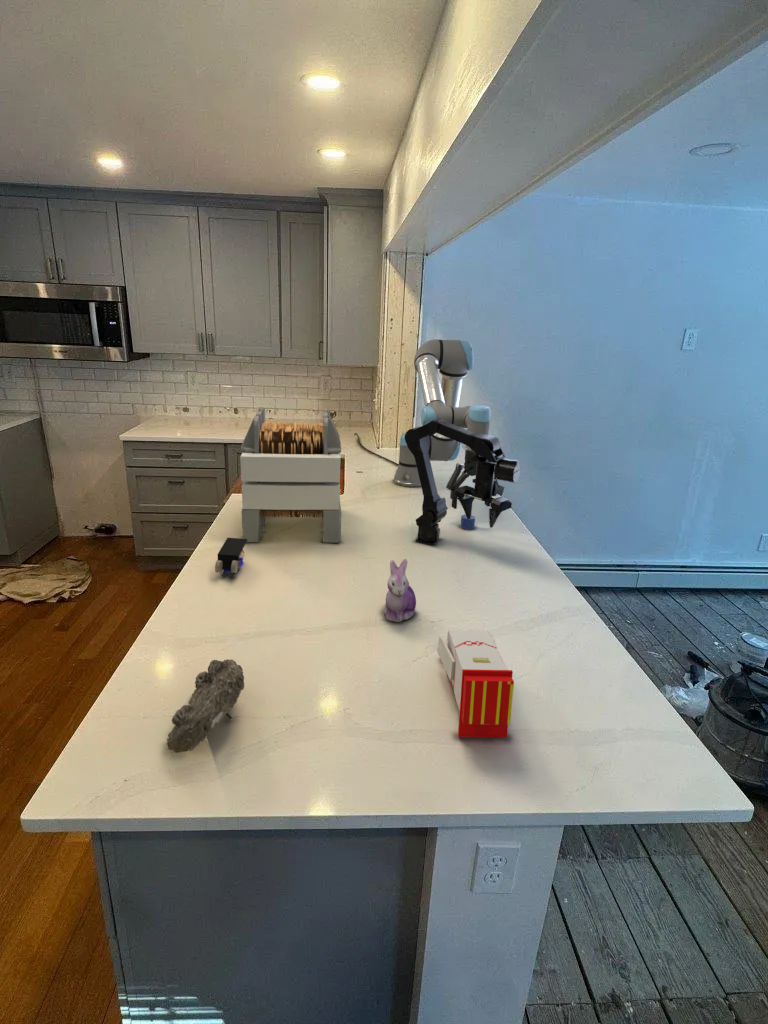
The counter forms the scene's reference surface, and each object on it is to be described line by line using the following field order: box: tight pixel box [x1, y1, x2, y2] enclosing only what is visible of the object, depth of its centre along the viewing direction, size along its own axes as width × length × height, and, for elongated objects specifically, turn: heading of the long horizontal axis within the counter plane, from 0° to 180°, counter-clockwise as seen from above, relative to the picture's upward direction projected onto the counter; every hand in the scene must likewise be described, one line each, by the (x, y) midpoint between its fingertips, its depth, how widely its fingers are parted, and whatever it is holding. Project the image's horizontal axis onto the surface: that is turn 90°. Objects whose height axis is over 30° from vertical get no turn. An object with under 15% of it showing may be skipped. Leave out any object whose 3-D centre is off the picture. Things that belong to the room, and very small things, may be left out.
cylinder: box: [459, 514, 476, 531], centre depth 208 cm, size 5×5×4 cm
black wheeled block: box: [214, 537, 248, 578], centre depth 166 cm, size 7×8×15 cm
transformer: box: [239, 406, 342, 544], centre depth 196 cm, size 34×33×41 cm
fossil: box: [166, 658, 245, 754], centre depth 106 cm, size 22×10×15 cm
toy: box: [437, 628, 515, 738], centre depth 117 cm, size 12×13×30 cm
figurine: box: [384, 558, 417, 623], centre depth 145 cm, size 9×10×15 cm
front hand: (479, 523), depth 182 cm, fingers open, 9 cm apart
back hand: (470, 506), depth 209 cm, fingers open, 13 cm apart
